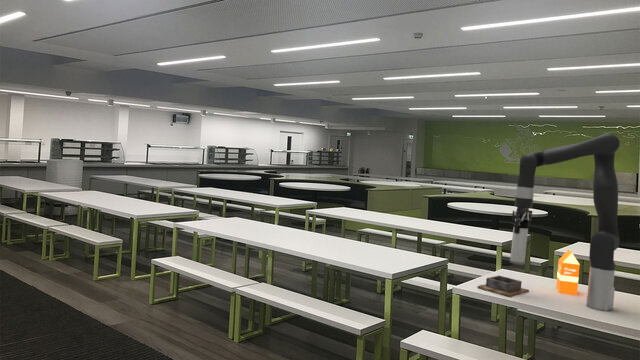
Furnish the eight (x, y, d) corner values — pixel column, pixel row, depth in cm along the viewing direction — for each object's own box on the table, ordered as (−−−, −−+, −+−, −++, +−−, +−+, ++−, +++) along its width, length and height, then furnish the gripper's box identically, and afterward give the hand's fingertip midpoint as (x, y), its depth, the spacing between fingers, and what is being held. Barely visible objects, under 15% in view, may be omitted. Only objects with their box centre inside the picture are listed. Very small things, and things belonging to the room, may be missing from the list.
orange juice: (559, 292, 223) (562, 251, 222) (555, 288, 232) (559, 248, 231) (577, 295, 221) (581, 253, 220) (573, 290, 229) (577, 250, 228)
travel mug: (527, 264, 215) (532, 221, 214) (516, 264, 213) (521, 221, 211) (517, 261, 221) (522, 219, 220) (506, 261, 219) (511, 219, 217)
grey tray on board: (528, 291, 221) (529, 281, 221) (509, 297, 210) (510, 286, 209) (497, 283, 233) (498, 273, 233) (477, 288, 222) (478, 277, 222)
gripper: (524, 198, 207) (520, 235, 208) (539, 198, 216) (535, 233, 218) (508, 196, 213) (504, 232, 214) (524, 195, 222) (520, 230, 223)
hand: (520, 232), depth 216 cm, fingers closed on travel mug, 6 cm apart
